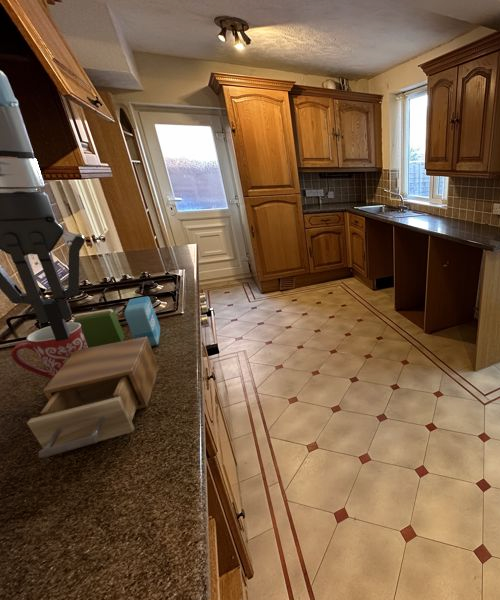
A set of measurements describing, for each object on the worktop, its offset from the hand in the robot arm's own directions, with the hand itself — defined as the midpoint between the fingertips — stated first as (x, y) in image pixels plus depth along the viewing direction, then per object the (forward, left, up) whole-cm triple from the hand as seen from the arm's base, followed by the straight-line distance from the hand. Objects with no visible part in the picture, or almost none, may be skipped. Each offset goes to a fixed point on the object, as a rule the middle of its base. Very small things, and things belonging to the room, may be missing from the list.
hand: (63, 337), depth 54 cm
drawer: (-2, +1, -21) cm, 21 cm away
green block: (-28, +36, -22) cm, 50 cm away
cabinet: (-7, +12, -22) cm, 26 cm away
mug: (-23, +18, -22) cm, 37 cm away
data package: (-16, +37, -22) cm, 46 cm away
